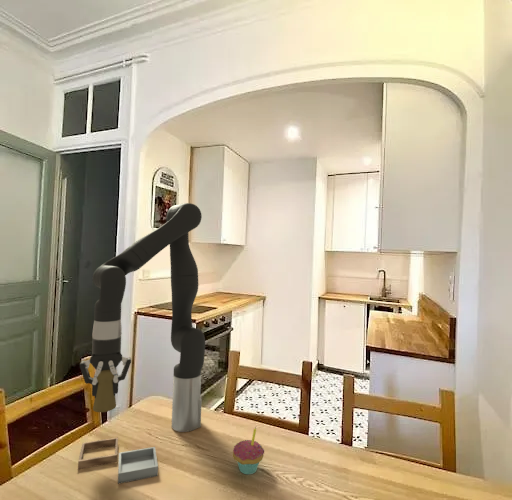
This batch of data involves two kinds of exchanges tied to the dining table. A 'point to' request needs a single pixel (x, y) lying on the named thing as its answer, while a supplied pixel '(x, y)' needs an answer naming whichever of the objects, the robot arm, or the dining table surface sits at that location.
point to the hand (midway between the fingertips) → (105, 395)
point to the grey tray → (137, 465)
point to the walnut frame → (98, 460)
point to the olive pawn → (105, 392)
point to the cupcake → (248, 455)
